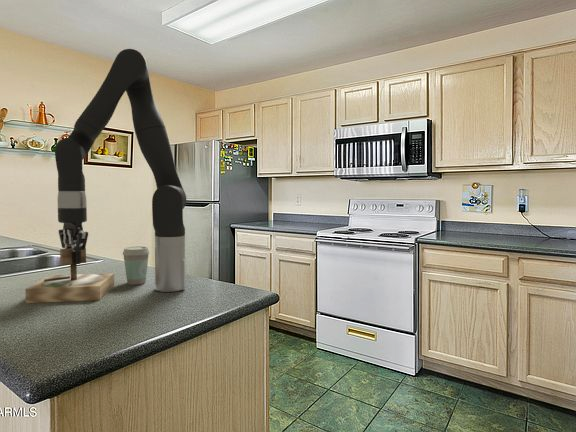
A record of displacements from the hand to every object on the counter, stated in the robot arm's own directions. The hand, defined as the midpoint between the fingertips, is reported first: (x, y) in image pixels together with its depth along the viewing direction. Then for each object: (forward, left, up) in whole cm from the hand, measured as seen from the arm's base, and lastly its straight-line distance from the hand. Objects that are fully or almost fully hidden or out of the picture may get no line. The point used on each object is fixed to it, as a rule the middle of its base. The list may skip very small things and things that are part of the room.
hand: (73, 263), depth 113 cm
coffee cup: (-16, -11, -10) cm, 22 cm away
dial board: (0, 0, -9) cm, 9 cm away
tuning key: (+2, +1, -5) cm, 6 cm away
